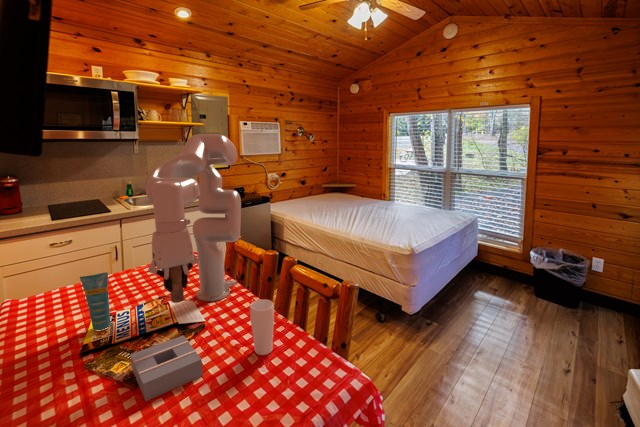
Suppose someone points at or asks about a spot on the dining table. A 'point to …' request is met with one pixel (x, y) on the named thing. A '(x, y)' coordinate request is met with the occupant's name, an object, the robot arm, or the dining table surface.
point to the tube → (97, 299)
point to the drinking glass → (262, 325)
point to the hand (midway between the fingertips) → (176, 287)
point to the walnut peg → (176, 284)
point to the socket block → (165, 367)
